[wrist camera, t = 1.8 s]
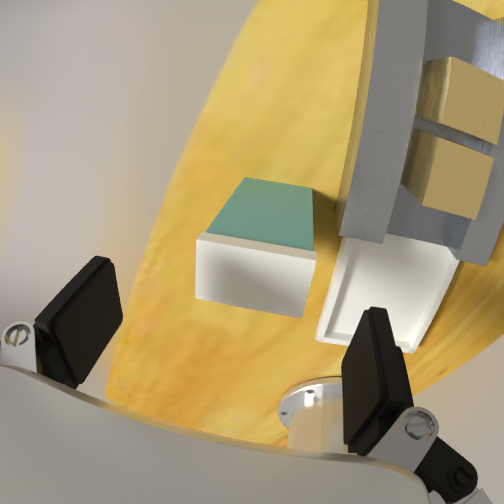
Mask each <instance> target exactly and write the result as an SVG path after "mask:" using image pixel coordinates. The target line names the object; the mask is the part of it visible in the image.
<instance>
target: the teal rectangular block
mask: <svg viewBox="0 0 504 504" xmlns="http://www.w3.org/2000/svg"><path fill="white" fill-rule="evenodd" d="M315 265H316V252H315V251H314V244H313V201H312V188H306V187H301V186H295V185H289V184H283V183H277V182H271V181H265V180H259V179H252V178H244V179H243V180H242V182H241V183H240V184H239V186H238V187H237V189H236V190H235V191H234V193H233V194H232V196H231V197H230V198H229V200H228V201H227V202H226V204H225V205H224V207H223V208H222V209H221V211H220V212H219V214H218V215H217V217H216V218H215V219H214V221H213V222H212V224H211V225H210V226H209V228H208V229H207V231H206V232H202V233H201V234H200V235H199V237H198V238H197V244H196V295H195V298H198V299H203V300H208V301H212V302H217V303H222V304H227V305H232V306H237V307H242V308H247V309H253V310H258V311H263V312H269V313H274V314H280V315H285V316H291V317H297V318H302V316H303V312H304V308H305V304H306V300H307V297H308V293H309V289H310V285H311V281H312V277H313V273H314V269H315Z"/></svg>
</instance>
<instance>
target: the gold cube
mask: <svg viewBox="0 0 504 504" xmlns="http://www.w3.org/2000/svg"><path fill="white" fill-rule="evenodd" d="M503 111H504V80H502V79H500V78H498V77H496V76H494V75H492V74H490V73H488V72H486V71H484V70H482V69H480V68H478V67H475V66H473V65H471V64H469V63H467V62H464V61H462V60H460V59H457V58H455V57H453V56H451V57H446V58H441V59H436V60H431V61H427V66H426V73H425V80H424V87H423V94H422V100H421V106H420V111H419V118H422V119H425V120H428V121H431V122H434V123H437V124H440V125H443V126H446V127H449V128H452V129H454V130H457V131H460V132H462V133H465V134H468V135H470V136H473V137H476V138H479V139H481V140H484V141H487V142H489V143H492V144H495V145H497V142H498V138H499V133H500V128H501V122H502V117H503Z"/></svg>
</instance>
